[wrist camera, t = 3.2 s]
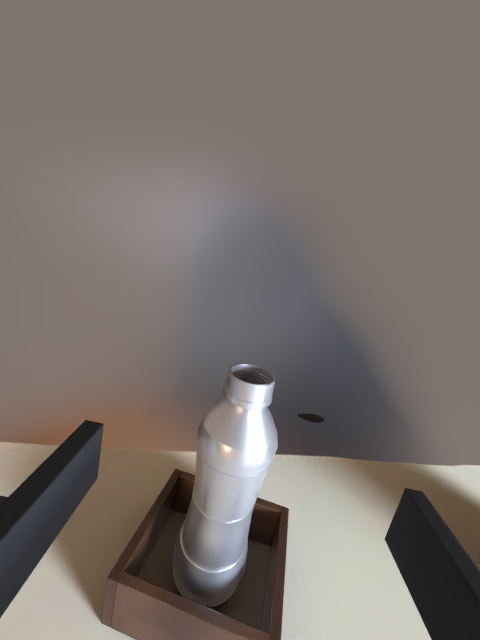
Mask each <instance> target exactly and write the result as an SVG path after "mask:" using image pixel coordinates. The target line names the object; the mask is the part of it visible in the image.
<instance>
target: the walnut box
mask: <svg viewBox="0 0 480 640" xmlns="http://www.w3.org/2000/svg"><path fill="white" fill-rule="evenodd" d="M194 480H195V475H192V474H190V473H187V472H184V471H181V470H178V469H175V471H174V472H173V474H172V475H171V477H170V479H169V480H168V482H167V483H166V485H165V487H164V488H163V490H162V491H161V493H160V494H159V496H158V498H157V499H156V501H155V502H154V504H153V506H152V507H151V509H150V510H149V512H148V514H147V515H146V517H145V518H144V520H143V522H142V523H141V525H140V526H139V528H138V530H137V531H136V533H135V534H134V536H133V538H132V539H131V541H130V542H129V544H128V546H127V547H126V549H125V550H124V552H123V554H122V555H121V557H120V558H119V560H118V562H117V563H116V565H115V566H114V568H113V570H112V571H111V573H110V574H109V576H108V578H107V584H106V591H105V599H104V606H103V614H102V621H101V623H102V624H105V625H107V626H109V627H110V626H111V628H113V629H115V630H117V631H119V632H121V633H124V634H126V635H128V636H130V637H132V638H134V639H136V640H281V630H282V613H283V596H284V580H285V563H286V546H287V530H288V513H289V509H288V508H286V507H283V506H280V505H277V504H274V503H272V502H269V501H266V500H263V499H260V498H257V499H256V502H255V505H254V508H253V511H252V516H251V521H250V527H249V534H248V538H250V539H252V540H255V541H257V542H260V543H263V544H265V545H268V546H271V548H270V557H269V565H268V574H267V582H266V591H265V600H264V608H263V617H262V626H261V630H258V629H256V628H254V627H251V626H249V625H247V624H244V623H242V622H240V621H237V620H235V619H233V618H231V617H228V616H226V615H224V614H221V613H219V612H217V611H214V610H212V609H210V608H207V607H205V606H203V605H200V604H198V603H196V602H193V601H191V600H189V599H186V598H184V597H182V596H179V595H177V594H175V593H172V592H170V591H168V590H165V589H163V588H161V587H158V586H156V585H154V584H151V583H149V582H147V581H144V580H142V579H140V578H137V576H138V574H139V572H140V570H141V569H142V567H143V565H144V563H145V561H146V559H147V557H148V555H149V554H150V552H151V550H152V548H153V546H154V544H155V542H156V540H157V539H158V537H159V535H160V533H161V531H162V529H163V527H164V525H165V524H166V522H167V520H168V518H169V516H170V514H171V512H172V510H176V511H178V512H181V513H184V514H186V515H187V512H188V509H189V505H190V502H191V499H192V493H193V487H194Z"/></svg>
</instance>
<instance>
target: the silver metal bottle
mask: <svg viewBox="0 0 480 640" xmlns="http://www.w3.org/2000/svg"><path fill="white" fill-rule="evenodd" d="M274 385H275V376H274V375H273V374H272V373H271V372H269V371H268V370H266V369H264V368H262V367H259V366H256V365H251V364H236V365H233V366H231V367H230V369H229V371H228V375H227V381H226V383H225V384H224V389H223V393H224V396H225V397H223V398H222V399H221V400H220V401H218V402H217V403H216V404H215V405H214V406H213V407H212V408H211V409H210V410H209V411H208V412H207V413H206V414H205V416H204V418H203V420H202V422H201V424H200V426H199V431H198V438H197V455H196V473H195V480H194V487H193V493H192V499H191V502H190V505H189V509H188V512H187V515H186V518H185V522H184V523H183V525H182V527H181V529H180V532H179V535H178V538H177V540H176V543H175V546H174V550H173V577H174V582H175V584H176V587H177V589H178V591H179V592H180V593H181V595H182V596H183V597H184V598H186V599H189V600H191V601H193V602H196V603H198V604H200V605H203V606H205V607H213V606H217V605H219V604H221V603H223V602H225V601H226V600H227V599H229V598H230V597H231V595H232V594H233V593H234V592H235V590H236V588H237V586H238V584H239V582H240V580H241V578H242V576H243V574H244V571H245V567H246V558H247V549H248V534H249V527H250V521H251V516H252V511H253V508H254V505H255V502H256V499H257V496H258V493H259V490H260V487H261V485H262V483H263V481H264V479H265V476H266V474H267V472H268V470H269V468H270V465H271V463H272V461H273V458H274V455H275V452H276V450H277V446H278V445H277V429H276V426H275V423H274V421H273V418H272V415H271V413H270V411H269V409H268V407H267V406H269V405H270V404H271V402H272V398H273V394H272V393H273V389H274Z"/></svg>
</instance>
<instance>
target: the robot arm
mask: <svg viewBox="0 0 480 640" xmlns="http://www.w3.org/2000/svg"><path fill="white" fill-rule="evenodd" d="M102 433H103V424H101V423H97V422H92V421H88V420H85V422H83V423H82V425H80V426H79V428H77V430H75V431H74V432H73V433H72V434H71V435H70V436H69V437H68V438H67V439H66V440H65V441H64V442H63V443H62V444H61V445H60V446H59V447H58V448H57V449H56V450H55V451H54V452H53V453H52V454H51V455H50V456H49V457H48V458H47V459H46V460H45V461H44V462H43V463H42V464H41V465H40V466H39V467H38V468H37V469H36V470H35V471H34V472H33V473H32V474H31V475H30V476H29V477H28V478H27V479H26V480H25V481H24V482H23V483H22V484H21V485H20V486H19V487H18V488H17V489H16V490H15V491H14V492H13V493H12V494H11V495H10V496H9V497H4V496H0V618H1V616H2V615H3V613H4V612H5V610H6V609H7V607H8V606H9V605H10V603H11V602H12V600H13V599H14V597H15V596H16V594H17V593H18V592H19V590H20V589H21V587H22V586H23V584H24V583H25V581H26V580H27V579H28V577H29V576H30V574H31V573H32V571H33V570H34V568H35V567H36V566H37V564H38V563H39V561H40V560H41V558H42V557H43V555H44V554H45V553H46V551H47V550H48V548H49V547H50V545H51V544H52V542H53V541H54V540H55V538H56V537H57V535H58V534H59V532H60V531H61V530H62V528H63V527H64V525H65V524H66V522H67V521H68V519H69V518H70V517H71V515H72V514H73V512H74V511H75V509H76V508H77V506H78V505H79V504H80V502H81V501H82V499H83V498H84V496H85V495H86V493H87V492H88V491H89V489H90V488H91V486H92V485H93V483H94V482H95V480H96V479H97V475H98V467H99V458H100V450H101V441H102ZM385 541H386V543H387V545H388V547H389V549H390V551H391V553H392V555H393V558H394V560H395V562H396V564H397V566H398V568H399V570H400V573H401V575H402V577H403V579H404V581H405V583H406V585H407V588H408V590H409V592H410V594H411V596H412V598H413V600H414V603H415V605H416V607H417V609H418V611H419V613H420V615H421V618H422V620H423V622H424V624H425V626H426V628H427V630H428V633H429V635H430V637H431V639H432V640H480V571H479V569H478V568H477V566H476V565H475V564H474V562H473V561H472V559H471V558H470V557H469V555H468V554H467V553H466V551H465V550H464V548H463V547H462V546H461V544H460V543H459V541H458V540H457V539H456V537H455V536H454V535H453V533H452V532H451V530H450V529H449V528H448V526H447V525H446V523H445V522H444V521H443V519H442V518H441V516H440V515H439V514H438V512H437V511H436V510H435V508H434V507H433V505H432V504H431V503H430V501H429V500H428V498H427V497H426V496H425V494H424V493H423V492H421V491H416V490H412V489H407V488H405V490H404V493H403V495H402V498H401V500H400V502H399V505H398V507H397V510H396V512H395V515H394V517H393V520H392V522H391V525H390V527H389V530H388V532H387V534H386V537H385Z"/></svg>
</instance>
